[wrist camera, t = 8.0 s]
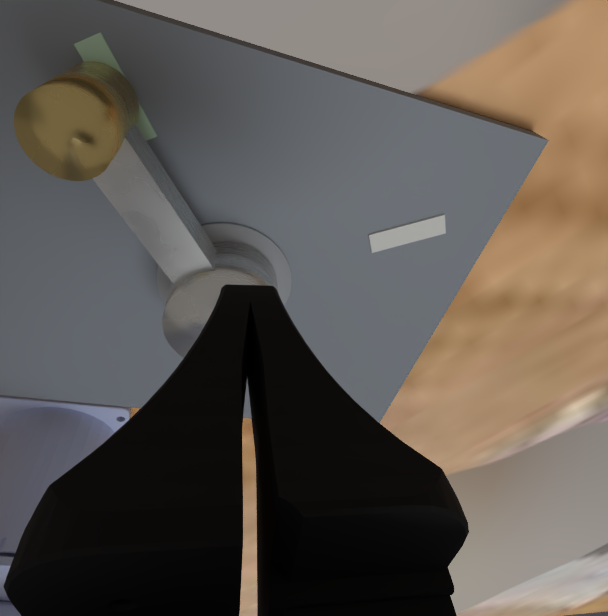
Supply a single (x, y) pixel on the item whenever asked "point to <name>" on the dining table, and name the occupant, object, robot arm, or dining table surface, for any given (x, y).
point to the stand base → (240, 205)
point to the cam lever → (134, 189)
